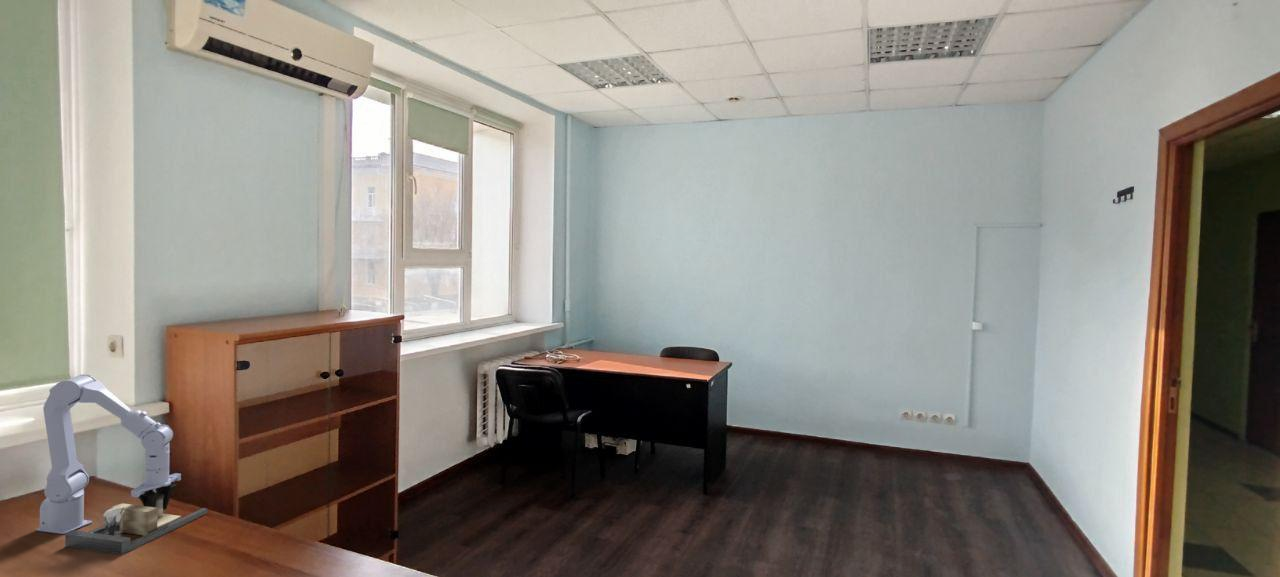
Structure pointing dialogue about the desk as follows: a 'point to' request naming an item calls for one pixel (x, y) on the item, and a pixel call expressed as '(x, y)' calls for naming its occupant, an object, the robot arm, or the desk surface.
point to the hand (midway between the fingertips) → (156, 511)
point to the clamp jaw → (145, 517)
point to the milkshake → (114, 521)
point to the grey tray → (120, 544)
